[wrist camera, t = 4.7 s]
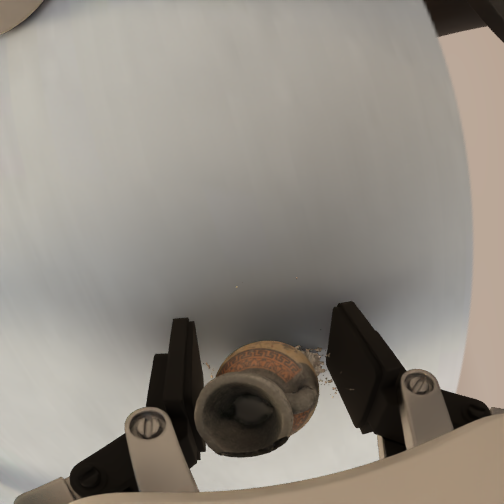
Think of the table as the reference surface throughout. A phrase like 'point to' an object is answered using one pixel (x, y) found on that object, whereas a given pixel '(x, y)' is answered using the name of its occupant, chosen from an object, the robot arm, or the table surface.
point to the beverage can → (15, 12)
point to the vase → (258, 398)
